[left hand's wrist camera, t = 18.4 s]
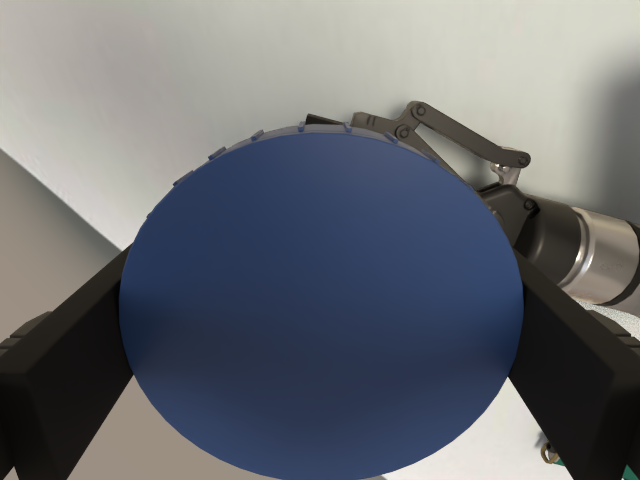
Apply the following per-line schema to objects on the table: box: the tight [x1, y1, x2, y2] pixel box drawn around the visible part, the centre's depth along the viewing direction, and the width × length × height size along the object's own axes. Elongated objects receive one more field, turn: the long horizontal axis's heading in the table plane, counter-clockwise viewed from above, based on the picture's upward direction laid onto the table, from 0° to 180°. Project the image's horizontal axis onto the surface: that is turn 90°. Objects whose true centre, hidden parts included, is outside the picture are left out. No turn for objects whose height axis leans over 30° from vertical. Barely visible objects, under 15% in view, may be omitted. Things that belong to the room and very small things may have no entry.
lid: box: [119, 121, 524, 480], centre depth 11 cm, size 10×10×2 cm
